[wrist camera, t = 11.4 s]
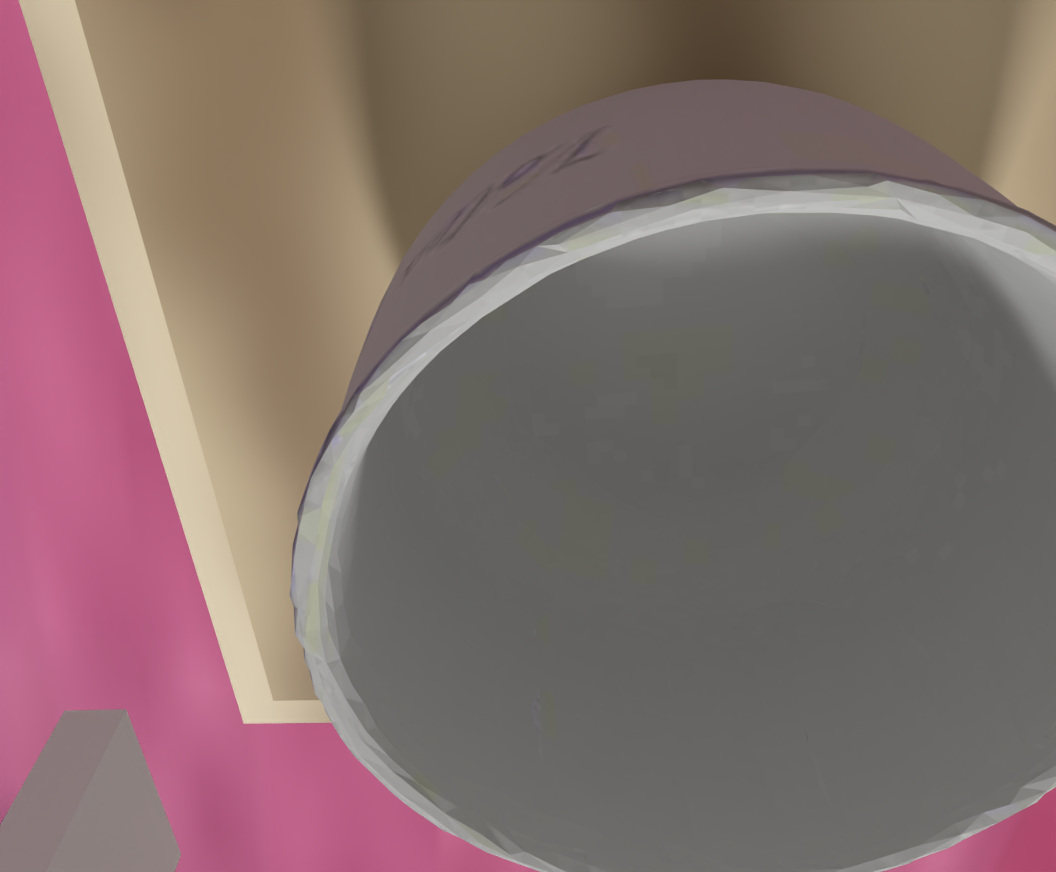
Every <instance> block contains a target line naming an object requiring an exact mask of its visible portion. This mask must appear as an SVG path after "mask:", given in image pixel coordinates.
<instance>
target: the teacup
mask: <svg viewBox="0 0 1056 872" xmlns="http://www.w3.org/2000/svg"><path fill="white" fill-rule="evenodd" d="M297 519H298V525H297V529H296V533H295V538H294V542H293V549H292V571H291V587H290V594H289V595H290V598H291V601H292V604H293V606H294V624H295V635H296V637H297V638H298V640H299V641H300V643H301V645H302V646H303V649H304V661H305V663H306V665H307V667H308V668H309V671H310V675H311V680H312V684H313V688H314V692H315V695H316V696H317V697H318V699H319V700H320V701H321V703H322V704H323V705H324V709H325V712H326V714H327V715H328V717H329V719H330V720H331V722H332V724H333V726H334V727H335V729H336V731H337V732H338V734H339V736H340V737H341V739H342V740H343V741H344V743H345V744H346V746H347V747H348V748H349V750H350V751H351V752H352V754H353V755H354V756H355V757H356V758H357V759H358V760H359V761H360V762H361V763H362V764H363V765H364V766H365V767H366V768H367V769H368V770H369V771H370V772H371V773H372V774H373V775H374V776H375V777H376V778H377V779H378V780H379V781H380V782H382V783H383V784H384V785H385V786H386V787H387V788H388V789H389V790H390V791H391V792H392V793H393V794H394V795H395V796H396V797H398V798H399V799H400V800H401V801H403V802H404V803H405V804H406V805H408V806H409V807H410V808H412V809H413V810H414V811H416V812H417V813H419V814H420V815H422V816H423V817H424V818H426V819H427V820H429V821H430V822H432V823H433V824H435V825H436V826H438V827H439V828H441V829H442V830H444V831H446V832H448V833H451V834H453V835H455V836H457V837H460V838H461V839H463V840H465V841H467V842H469V843H470V844H472V845H474V846H476V847H478V848H480V849H481V850H483V851H485V852H488V853H490V854H493V855H496V856H498V857H501V858H504V859H506V860H509V861H512V862H515V863H517V864H520V865H523V866H526V867H529V868H532V869H534V870H537V871H540V872H882V871H885V870H889V869H892V868H895V867H899V866H902V865H905V864H909V863H911V862H912V861H914V860H916V859H919V858H922V857H925V856H927V855H930V854H933V853H936V852H939V851H941V850H944V849H947V848H949V847H951V846H953V845H955V844H957V843H958V842H960V841H962V840H964V839H966V838H968V837H970V836H972V835H974V834H976V833H978V832H980V831H982V830H984V829H986V828H988V827H990V826H992V825H994V824H996V823H998V822H1000V821H1002V820H1004V819H1006V818H1008V817H1010V816H1011V815H1013V814H1015V813H1017V812H1019V811H1021V810H1023V809H1025V808H1027V807H1028V806H1030V805H1032V804H1034V803H1036V802H1037V801H1038V800H1039V799H1040V798H1041V797H1042V796H1043V795H1044V794H1045V793H1047V792H1048V791H1050V790H1052V789H1053V788H1055V787H1056V226H1055V225H1054V224H1052V223H1050V222H1048V221H1046V220H1044V219H1043V218H1041V217H1039V216H1037V215H1035V214H1033V213H1031V212H1030V211H1028V210H1025V209H1023V208H1020V207H1018V206H1016V205H1015V204H1014V203H1012V202H1011V201H1010V200H1009V199H1007V198H1006V197H1005V196H1003V195H1002V194H1001V193H1000V192H998V191H997V190H996V189H994V188H993V187H991V186H990V185H988V184H987V183H986V182H984V181H983V180H981V179H980V178H979V177H977V176H976V175H974V174H973V173H972V172H970V171H969V170H967V169H966V168H965V167H963V166H962V165H960V164H959V163H957V162H956V161H955V160H953V159H952V158H950V157H949V156H948V155H946V154H945V153H943V152H941V151H940V150H938V149H937V148H935V147H933V146H932V145H930V144H929V143H927V142H926V141H924V140H922V139H921V138H919V137H918V136H916V135H914V134H913V133H911V132H909V131H908V130H906V129H904V128H902V127H900V126H898V125H897V124H895V123H893V122H891V121H889V120H887V119H885V118H883V117H881V116H879V115H876V114H874V113H872V112H870V111H867V110H865V109H863V108H861V107H859V106H856V105H853V104H850V103H848V102H845V101H842V100H839V99H836V98H834V97H831V96H828V95H825V94H822V93H818V92H813V91H809V90H805V89H800V88H794V87H789V86H784V85H778V84H773V83H768V82H759V81H743V80H728V79H723V80H691V81H683V82H674V83H666V84H659V85H654V86H649V87H644V88H639V89H634V90H629V91H626V92H622V93H619V94H616V95H613V96H610V97H607V98H604V99H601V100H598V101H595V102H591V103H588V104H585V105H582V106H580V107H578V108H576V109H573V110H571V111H569V112H567V113H564V114H562V115H560V116H558V117H556V118H554V119H552V120H550V121H548V122H546V123H545V124H543V125H541V126H539V127H537V128H535V129H533V130H532V131H530V132H528V133H526V134H524V135H523V136H521V137H520V138H518V139H517V140H515V141H514V142H513V143H511V144H510V145H508V146H507V147H505V148H504V149H502V150H501V151H499V152H498V153H497V154H495V155H494V156H493V157H492V158H490V159H489V160H488V161H487V162H486V163H484V164H483V165H482V166H481V167H479V168H478V169H477V170H476V171H474V172H473V173H472V174H471V175H470V176H469V177H468V178H467V179H466V180H465V181H464V182H463V183H462V184H461V185H460V186H459V187H458V188H457V189H456V190H455V191H454V192H453V193H452V194H451V195H450V196H449V197H448V198H447V199H446V200H445V202H444V203H443V204H442V205H441V207H440V208H439V209H438V210H437V212H436V213H435V214H434V215H433V216H432V218H431V219H430V220H429V221H428V223H427V224H426V225H425V226H424V228H423V229H422V230H421V232H420V233H419V235H418V236H417V238H416V239H415V241H414V242H413V244H412V245H411V247H410V248H409V250H408V251H407V253H406V254H405V256H404V257H403V259H402V261H401V263H400V265H399V267H398V269H397V271H396V273H395V275H394V277H393V279H392V280H391V282H390V284H389V286H388V288H387V290H386V292H385V294H384V296H383V298H382V300H381V302H380V305H379V307H378V309H377V312H376V314H375V316H374V319H373V321H372V323H371V326H370V328H369V331H368V334H367V337H366V339H365V342H364V345H363V347H362V350H361V353H360V355H359V358H358V361H357V364H356V366H355V369H354V372H353V374H352V377H351V380H350V383H349V386H348V389H347V393H346V396H345V399H344V403H343V406H342V409H341V411H340V413H339V415H338V416H337V418H336V420H335V421H334V423H333V425H332V427H331V428H330V430H329V432H328V434H327V436H326V438H325V440H324V442H323V444H322V446H321V449H320V451H319V454H318V456H317V458H316V461H315V463H314V466H313V468H312V471H311V473H310V476H309V479H308V482H307V485H306V488H305V491H304V494H303V497H302V500H301V503H300V506H299V509H298V512H297Z"/></svg>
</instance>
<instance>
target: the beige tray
mask: <svg viewBox="0 0 1056 872" xmlns="http://www.w3.org/2000/svg"><path fill="white" fill-rule="evenodd" d="M19 2H20V6H21V9H22V12H23V15H24V18H25V22H26V25H27V28H28V31H29V34H30V38H31V41H32V44H33V47H34V51H35V54H36V57H37V60H38V63H39V67H40V70H41V73H42V76H43V79H44V83H45V86H46V89H47V92H48V96H49V99H50V102H51V105H52V108H53V112H54V115H55V118H56V121H57V125H58V128H59V131H60V134H61V137H62V141H63V144H64V147H65V150H66V153H67V157H68V160H69V163H70V166H71V170H72V173H73V176H74V179H75V182H76V186H77V189H78V192H79V195H80V198H81V202H82V205H83V208H84V211H85V215H86V218H87V221H88V224H89V227H90V231H91V234H92V237H93V240H94V243H95V247H96V250H97V253H98V256H99V260H100V263H101V266H102V269H103V272H104V276H105V279H106V282H107V285H108V288H109V292H110V295H111V298H112V301H113V305H114V308H115V311H116V314H117V317H118V321H119V324H120V327H121V330H122V333H123V337H124V340H125V343H126V346H127V350H128V353H129V356H130V359H131V362H132V366H133V369H134V372H135V375H136V378H137V382H138V385H139V388H140V391H141V395H142V398H143V401H144V404H145V407H146V411H147V414H148V417H149V420H150V423H151V427H152V430H153V433H154V436H155V440H156V443H157V446H158V449H159V452H160V456H161V459H162V462H163V465H164V468H165V472H166V475H167V478H168V481H169V485H170V488H171V491H172V494H173V497H174V501H175V504H176V507H177V510H178V513H179V517H180V520H181V523H182V526H183V530H184V533H185V536H186V539H187V542H188V546H189V549H190V552H191V555H192V558H193V562H194V565H195V568H196V571H197V575H198V578H199V581H200V584H201V587H202V591H203V594H204V597H205V600H206V603H207V607H208V610H209V613H210V616H211V620H212V623H213V626H214V629H215V632H216V636H217V639H218V642H219V645H220V648H221V652H222V655H223V658H224V661H225V665H226V668H227V671H228V674H229V677H230V681H231V684H232V687H233V690H234V693H235V697H236V700H237V703H238V706H239V710H240V713H241V716H242V719H243V722H244V723H332V722H331V720H330V719H329V717H328V715H327V714H326V712H325V709H324V705H323V704H322V703H321V701H320V700H319V699H318V697H317V696H316V695H315V692H314V688H313V684H312V680H311V675H310V671H309V668H308V667H307V665H306V663H305V661H304V649H303V646H302V645H301V643H300V641H299V640H298V638H297V637H296V635H295V624H294V606H293V604H292V601H291V598H290V595H289V594H290V587H291V571H292V549H293V542H294V538H295V533H296V529H297V525H298V519H297V512H298V509H299V506H300V503H301V500H302V497H303V494H304V491H305V488H306V485H307V482H308V479H309V476H310V473H311V471H312V468H313V466H314V463H315V461H316V458H317V456H318V454H319V451H320V449H321V446H322V444H323V442H324V440H325V438H326V436H327V434H328V432H329V430H330V428H331V427H332V425H333V423H334V421H335V420H336V418H337V416H338V415H339V413H340V411H341V409H342V406H343V403H344V399H345V396H346V393H347V389H348V386H349V383H350V380H351V377H352V374H353V372H354V369H355V366H356V364H357V361H358V358H359V355H360V353H361V350H362V347H363V345H364V342H365V339H366V337H367V334H368V331H369V328H370V326H371V323H372V321H373V319H374V316H375V314H376V312H377V309H378V307H379V305H380V302H381V300H382V298H383V296H384V294H385V292H386V290H387V288H388V286H389V284H390V282H391V280H392V279H393V277H394V275H395V273H396V271H397V269H398V267H399V265H400V263H401V261H402V259H403V257H404V256H405V254H406V253H407V251H408V250H409V248H410V247H411V245H412V244H413V242H414V241H415V239H416V238H417V236H418V235H419V233H420V232H421V230H422V229H423V228H424V226H425V225H426V224H427V223H428V221H429V220H430V219H431V218H432V216H433V215H434V214H435V213H436V212H437V210H438V209H439V208H440V207H441V205H442V204H443V203H444V202H445V200H446V199H447V198H448V197H449V196H450V195H451V194H452V193H453V192H454V191H455V190H456V189H457V188H458V187H459V186H460V185H461V184H462V183H463V182H464V181H465V180H466V179H467V178H468V177H469V176H470V175H471V174H472V173H473V172H474V171H476V170H477V169H478V168H479V167H481V166H482V165H483V164H484V163H486V162H487V161H488V160H489V159H490V158H492V157H493V156H494V155H495V154H497V153H498V152H499V151H501V150H502V149H504V148H505V147H507V146H508V145H510V144H511V143H513V142H514V141H515V140H517V139H518V138H520V137H521V136H523V135H524V134H526V133H528V132H530V131H532V130H533V129H535V128H537V127H539V126H541V125H543V124H545V123H546V122H548V121H550V120H552V119H554V118H556V117H558V116H560V115H562V114H564V113H567V112H569V111H571V110H573V109H576V108H578V107H580V106H582V105H585V104H588V103H591V102H595V101H598V100H601V99H604V98H607V97H610V96H613V95H616V94H619V93H622V92H626V91H629V90H634V89H639V88H644V87H649V86H654V85H659V84H666V83H674V82H683V81H691V80H723V79H728V80H743V81H759V82H768V83H773V84H778V85H784V86H789V87H794V88H800V89H805V90H809V91H813V92H818V93H822V94H825V95H828V96H831V97H834V98H836V99H839V100H842V101H845V102H848V103H850V104H853V105H856V106H859V107H861V108H863V109H865V110H867V111H870V112H872V113H874V114H876V115H879V116H881V117H883V118H885V119H887V120H889V121H891V122H893V123H895V124H897V125H898V126H900V127H902V128H904V129H906V130H908V131H909V132H911V133H913V134H914V135H916V136H918V137H919V138H921V139H922V140H924V141H926V142H927V143H929V144H930V145H932V146H933V147H935V148H937V149H938V150H940V151H941V152H943V153H945V154H946V155H948V156H949V157H950V158H952V159H953V160H955V161H956V162H957V163H959V164H960V165H962V166H963V167H965V168H966V169H967V170H969V171H970V172H972V173H973V174H974V175H976V176H977V177H979V178H980V179H981V180H983V181H984V182H986V183H987V184H988V185H990V186H991V187H993V188H994V189H996V190H997V191H998V192H1000V193H1001V194H1002V195H1003V196H1005V197H1006V198H1007V199H1009V200H1010V201H1011V202H1012V203H1014V204H1015V205H1016V206H1018V207H1020V208H1023V209H1025V210H1028V211H1030V212H1031V213H1033V214H1035V215H1037V216H1039V217H1041V218H1043V219H1044V220H1046V221H1048V222H1050V223H1052V224H1054V225H1055V226H1056V0H19Z"/></svg>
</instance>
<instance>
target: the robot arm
mask: <svg viewBox="0 0 1056 872" xmlns="http://www.w3.org/2000/svg"><path fill="white" fill-rule="evenodd" d="M180 856H181V852H180V850H179V847H178V844H177V842H176V839H175V837H174V834H173V831H172V829H171V826H170V823H169V821H168V818H167V816H166V813H165V810H164V808H163V805H162V802H161V800H160V797H159V795H158V792H157V789H156V787H155V784H154V781H153V779H152V776H151V774H150V771H149V768H148V766H147V763H146V760H145V758H144V755H143V753H142V750H141V747H140V745H139V742H138V739H137V737H136V734H135V732H134V729H133V726H132V724H131V721H130V719H129V716H128V713H127V711H126V709H118V710H75V711H64V713H63V714H62V716H61V718H60V720H59V722H58V723H57V725H56V727H55V729H54V730H53V732H52V734H51V736H50V738H49V739H48V741H47V743H46V745H45V746H44V748H43V750H42V752H41V754H40V755H39V757H38V759H37V761H36V763H35V764H34V766H33V768H32V770H31V771H30V773H29V775H28V777H27V779H26V780H25V782H24V784H23V786H22V787H21V789H20V791H19V793H18V795H17V796H16V798H15V800H14V802H13V804H12V805H11V807H10V809H9V811H8V812H7V814H6V816H5V818H4V820H3V821H2V823H1V825H0V872H175V870H176V867H177V864H178V861H179V859H180Z"/></svg>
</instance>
